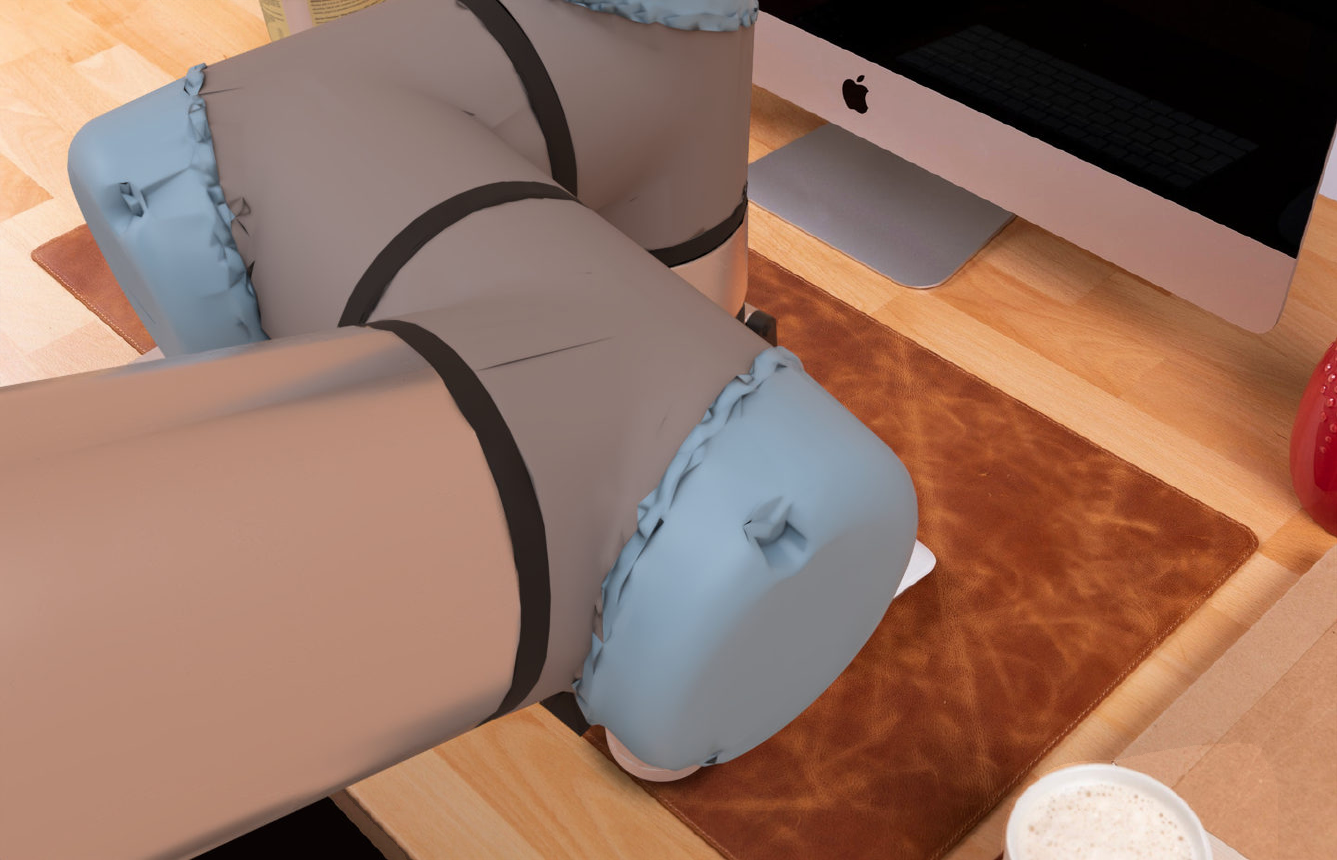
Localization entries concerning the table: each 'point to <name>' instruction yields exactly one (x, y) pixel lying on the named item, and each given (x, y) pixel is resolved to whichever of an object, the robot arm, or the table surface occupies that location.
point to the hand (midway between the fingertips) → (660, 620)
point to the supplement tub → (306, 14)
